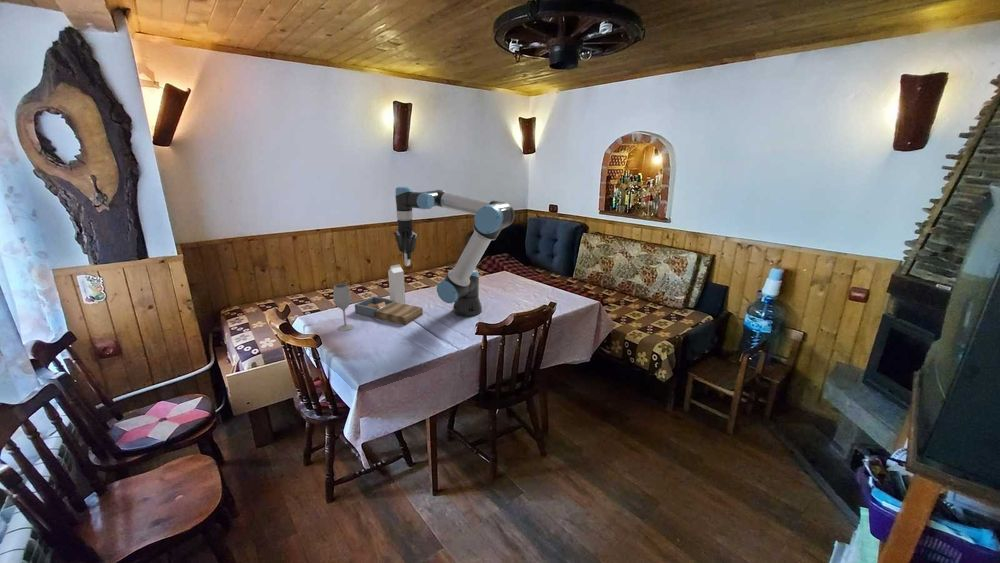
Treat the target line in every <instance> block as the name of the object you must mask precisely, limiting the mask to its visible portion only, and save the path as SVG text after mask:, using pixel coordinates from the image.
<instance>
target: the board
mask: <svg viewBox="0 0 1000 563" xmlns="http://www.w3.org/2000/svg"><path fill="white" fill-rule="evenodd" d="M423 315H424V312H423V307H420V306H416V305H412V304H411V305H410V304H406V303H405V304H402V303H397V302H393V303H391V304H389V305H387V306H385V307H383V308H381V309H379V310H377V311H376V318H375V319H377V320H381V321H386V322H390V323H394V324H398V325H403V326H407V325H408V324H409V325H410V323H412V322H414V321H415V320H417V319H418V318H420V317H422V316H423Z"/></svg>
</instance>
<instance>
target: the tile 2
mask: <svg viewBox="0 0 1000 563" xmlns="http://www.w3.org/2000/svg"><path fill="white" fill-rule="evenodd" d="M385 305H386V304H385V302H381V303H378V304H376V305H374V306H372V307H373V308H377V309H379V308H381V307H383V306H385Z"/></svg>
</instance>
